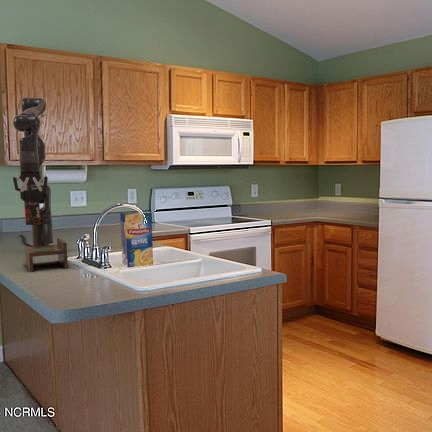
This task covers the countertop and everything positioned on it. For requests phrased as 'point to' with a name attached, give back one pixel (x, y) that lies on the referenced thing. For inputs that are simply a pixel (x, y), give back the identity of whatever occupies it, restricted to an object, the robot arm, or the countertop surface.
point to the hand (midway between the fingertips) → (31, 200)
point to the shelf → (47, 253)
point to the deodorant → (32, 207)
